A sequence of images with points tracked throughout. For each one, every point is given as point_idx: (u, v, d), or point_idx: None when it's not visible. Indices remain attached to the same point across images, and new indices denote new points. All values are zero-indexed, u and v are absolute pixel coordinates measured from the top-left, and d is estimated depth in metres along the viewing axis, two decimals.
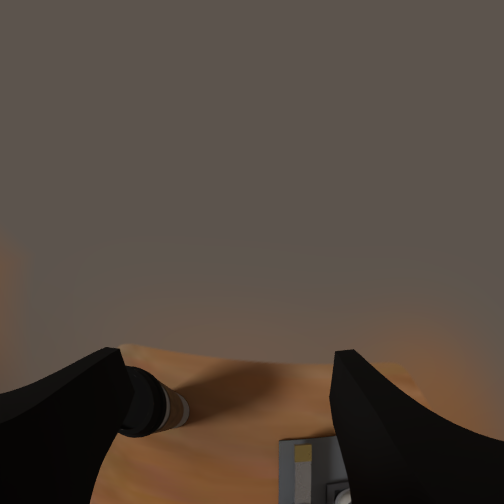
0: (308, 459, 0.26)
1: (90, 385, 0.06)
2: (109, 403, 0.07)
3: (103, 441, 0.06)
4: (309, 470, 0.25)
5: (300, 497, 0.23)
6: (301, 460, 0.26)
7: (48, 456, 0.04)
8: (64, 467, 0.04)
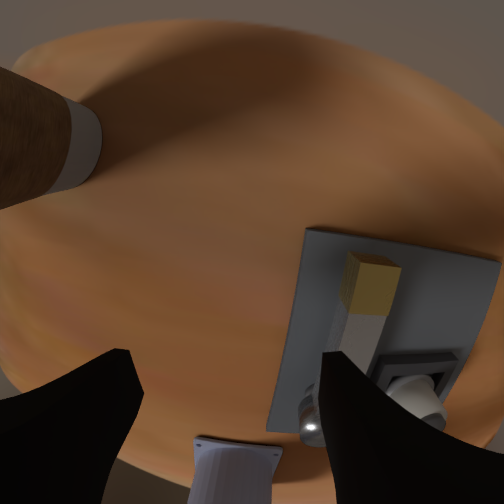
0: (382, 308, 0.12)
1: (100, 387, 0.06)
2: (119, 405, 0.07)
3: (113, 444, 0.06)
4: (374, 340, 0.12)
5: None
6: (365, 310, 0.12)
7: (58, 461, 0.04)
8: (74, 472, 0.04)
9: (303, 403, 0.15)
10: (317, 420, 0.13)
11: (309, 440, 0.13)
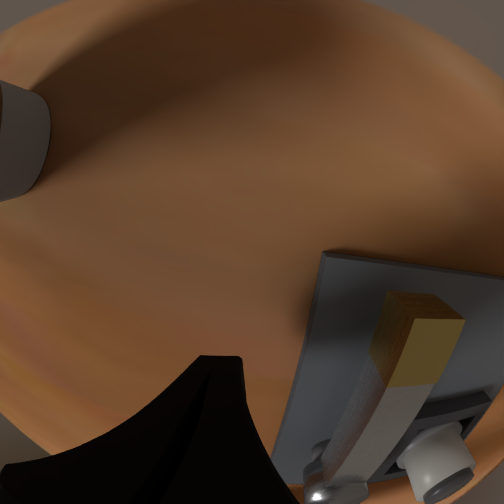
0: (432, 376, 0.07)
1: (203, 402, 0.06)
2: None
3: None
4: (413, 411, 0.07)
5: (349, 474, 0.08)
6: (410, 381, 0.07)
7: None
8: None
9: (310, 468, 0.10)
10: (327, 494, 0.08)
11: None
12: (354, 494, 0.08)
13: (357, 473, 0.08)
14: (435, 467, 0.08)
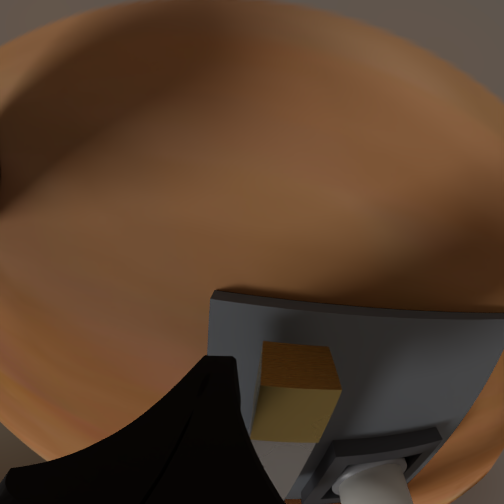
0: (307, 436, 0.07)
1: None
2: None
3: None
4: (299, 462, 0.07)
5: None
6: (278, 437, 0.07)
7: None
8: None
9: None
10: None
11: None
12: None
13: None
14: None
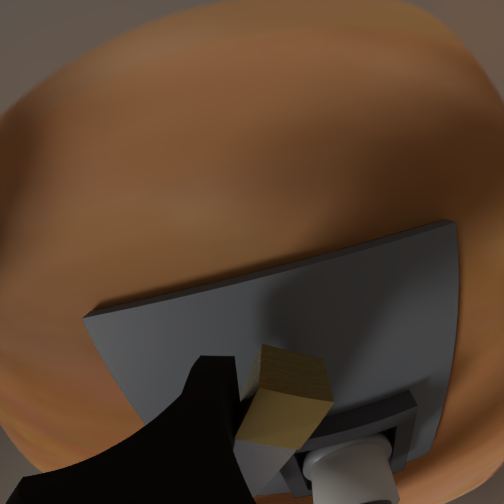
0: (290, 442, 0.07)
1: (222, 404, 0.06)
2: (231, 419, 0.07)
3: None
4: (276, 466, 0.07)
5: None
6: (262, 440, 0.07)
7: None
8: None
9: None
10: None
11: None
12: None
13: None
14: (321, 497, 0.08)
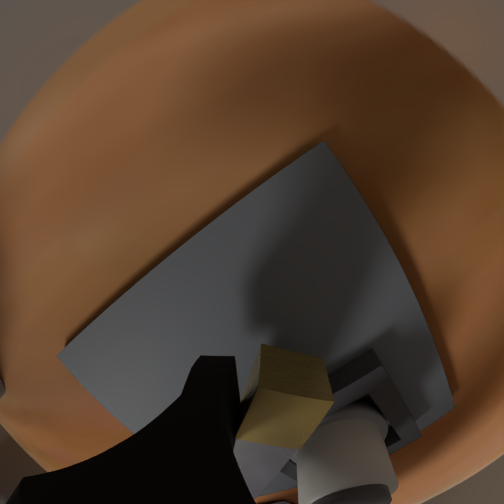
0: (291, 442, 0.07)
1: (223, 404, 0.06)
2: (231, 419, 0.07)
3: None
4: (276, 466, 0.07)
5: None
6: (262, 439, 0.07)
7: None
8: None
9: None
10: None
11: None
12: None
13: None
14: (298, 487, 0.08)
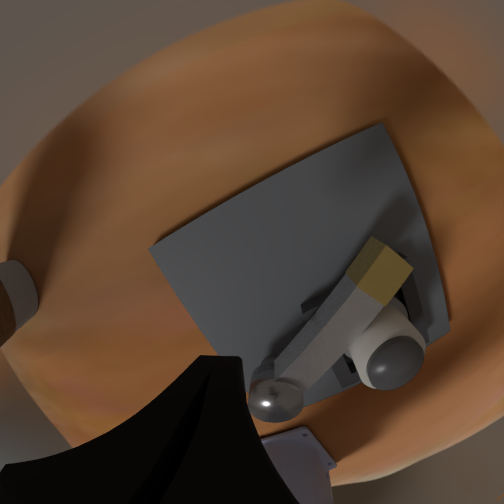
0: (384, 297, 0.12)
1: (203, 402, 0.06)
2: None
3: None
4: (364, 324, 0.13)
5: (299, 371, 0.14)
6: (370, 291, 0.12)
7: None
8: None
9: (262, 367, 0.16)
10: (275, 387, 0.14)
11: (255, 407, 0.14)
12: (292, 401, 0.14)
13: (304, 374, 0.14)
14: (357, 348, 0.13)
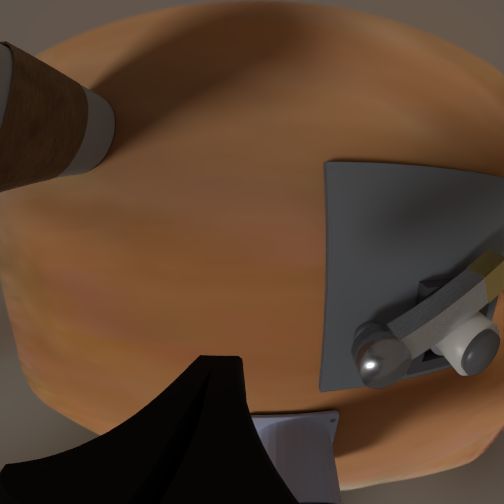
0: (491, 295, 0.12)
1: (203, 402, 0.06)
2: None
3: None
4: (473, 312, 0.12)
5: (421, 336, 0.13)
6: (488, 286, 0.12)
7: None
8: None
9: (379, 327, 0.15)
10: (402, 346, 0.13)
11: (371, 364, 0.13)
12: (402, 366, 0.13)
13: (422, 341, 0.13)
14: (461, 330, 0.13)
